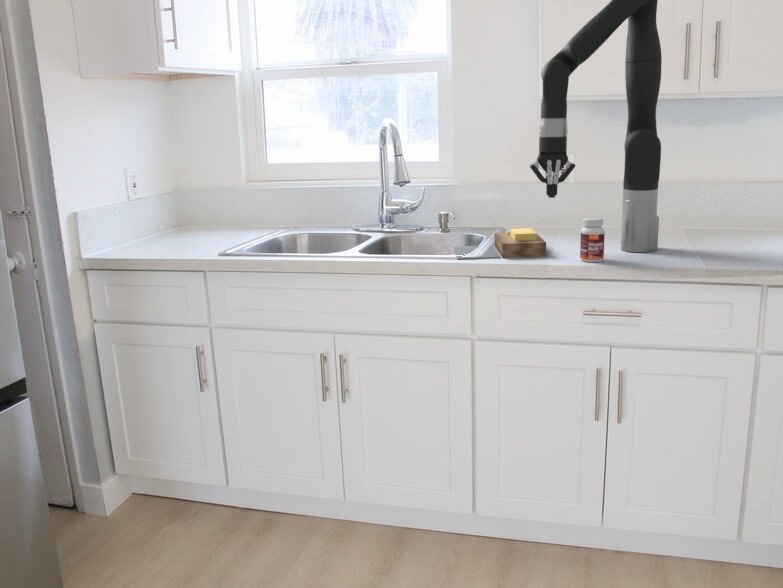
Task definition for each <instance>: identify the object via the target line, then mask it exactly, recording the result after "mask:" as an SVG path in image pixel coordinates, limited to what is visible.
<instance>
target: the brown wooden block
mask: <svg viewBox="0 0 783 588" xmlns="http://www.w3.org/2000/svg"><path fill="white" fill-rule="evenodd" d="M494 247H495V249H496V250H497V252H498V253H499V255H500V256H501V258H502V259H510V258H515V259H516V258H536V257H537V258H538V257H540V258H541V257H547V242H546V240H544V238H542V237H541V236H540V235H539V234H538V233H537V240H531V241H515V240H514V239H513V238H512V237H511V231H509V232H508V231H507V232H494Z"/></svg>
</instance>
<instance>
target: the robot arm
mask: <svg viewBox="0 0 783 588" xmlns="http://www.w3.org/2000/svg"><path fill="white" fill-rule="evenodd" d="M658 1H659V0H611V1H609V2H608V3H607V5H605V7H603V8H602V9H601V10H600V11H599V12H598V13H597V14H596V15H594V16H593V17H592V18H591V19H589V20H588V22H587V23H586V24H584V26H582V27H581V28H580V29H579V31H577V32H576V33H575V34H574V35H573V37H571V38H570V39H569V40H568V42H567V43H566V44H565V45H564V46H563V48H561V50H559V51H558V52H557V53H556V54H555V55H553V57H552V58H550V59H549V61H547V62H546V63H545V64H544V65H543V67H542V69H541V72H540V73H541V74H540V76H541V80H542V99H541V104H540V121H539V122H540V123H539V140H538V141H539V142H538V143H539V145H538V146H539V147H538V156H537V157H536V161H535V162H533V163H531V164H530V165H529V169H531V171H532V172H533V174H534V175H535V176H536V177H537V179H538V180H539V181H540V182H541V183H544V184H545V185H546V186H545V188H546V192H545V194H546V196H547V197H548V198H549V199H551V198H552V199H553V198H556V196H558V185H559V184H560V183H563V182H565V180H566V179H567V178H568V177H569V175H570V174H571V173H572V171H573V170H574V169H575V168H576V164H575V163H572V162H571V161H570V160H569V155H567V148H568V147H567V145H568V122H567V121H568V119H567V114H568V113H567V112H568V100H567V98H568V89H569V81H570V79H569V78H570V76H571V74H573V73H574V71H575V70H577V68H578V67H579V66H580V65H582V64H583V63H585V62H586V61H587V60H588V59H589V58H590V57H591V56H592V55H594V54H595V53H596V52H597V50H598V49H600V47H601V46H603V45H604V43H605V42H607V40H608V39H609V38H610V37H612V35H613V34H614V32H615V31H617V29H618V28H619V27H620V26H621V25H622V24H623V23H625V21H626V20H627V34H626V42H625V43H626V47H625V48H626V49H625V60H624V61H625V64H624V65H625V71H624V72H625V74H624V75H625V78H624V79H625V93H626V102H627V103H626V104H627V123H626V125H627V126H626V133H625V134H626V135H625V142H624V153H625V154H624V170H623V171H624V174H623V183H622V184H623V185H622V187H623V189H622V213H621V214H622V215H621V235H620V236H621V240H620V249H621V251H624V252H630V253H632V252H633V253H651V252H653V251H655V252H656V251H659V250H658V248H659V247H658V244H659V231H660V230H659V227H660V226H659V225H660V217H659V216H658V197H659V196H658V195H659V181H660V175H661V173H660V172H661V159H662V143H661V140H660V138H659V137H658V129H657V128H658V127H657V104H658V99H659V95H660V87H661V82H662V81H661V80H662V61H663V59H662V48H661V41H660V37H659V36H660V35H659V31H658V27H657V26H658V25H657V10H658ZM540 167H541V169H542V170H543V171H544V173H545V177H544V175H543V174H542V173H541V172H540V171H539V170H540ZM564 167H565V169H564V171H562V169H563V168H564ZM560 171H562V173H561V174H560Z"/></svg>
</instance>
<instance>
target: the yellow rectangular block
mask: <svg viewBox="0 0 783 588" xmlns="http://www.w3.org/2000/svg"><path fill="white" fill-rule="evenodd" d="M510 232H511V237H512V238H513V239H514V240H515V241H531V240H537V234H538V233H537V232H536V231H535V230H534V229H533V228H531V227H528V228H524V227H523V228H522V227H521V228H510Z"/></svg>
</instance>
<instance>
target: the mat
mask: <svg viewBox="0 0 783 588" xmlns="http://www.w3.org/2000/svg"><path fill="white" fill-rule="evenodd" d="M490 245H491V246H490V247H489V248H488V250H487V252H486V253H485V254H484V255H483V256H481V257H475V258H473V257H462V256H456V255H463V256H465V255H464V254H468V253H471V252H472V251H474V250H475V249H476V248H478V247H479V246H480V245H458V246H457V245H455V246H452V248H453V251H454V253H455V256H456V259H457V260H478V259H479V260H480V259H501V258H502V256H501V255H500V253H499V252H498V250H497V249H496V247H495V245H493V244H490Z"/></svg>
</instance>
